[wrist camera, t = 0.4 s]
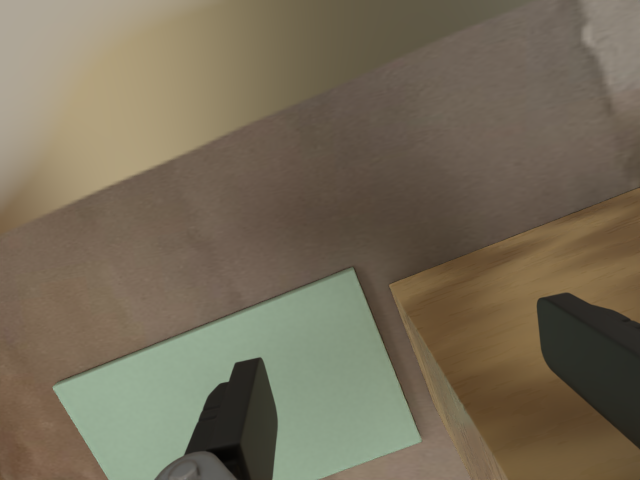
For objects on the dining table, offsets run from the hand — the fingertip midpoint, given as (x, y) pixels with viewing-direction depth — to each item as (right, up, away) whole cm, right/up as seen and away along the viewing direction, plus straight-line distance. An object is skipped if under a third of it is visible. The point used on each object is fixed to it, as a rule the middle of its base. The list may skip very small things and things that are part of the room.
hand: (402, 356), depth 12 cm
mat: (-8, -9, +17) cm, 21 cm away
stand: (+17, +1, +16) cm, 23 cm away
